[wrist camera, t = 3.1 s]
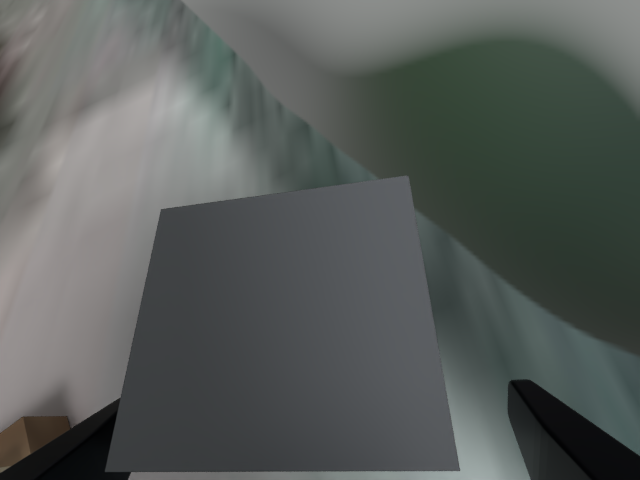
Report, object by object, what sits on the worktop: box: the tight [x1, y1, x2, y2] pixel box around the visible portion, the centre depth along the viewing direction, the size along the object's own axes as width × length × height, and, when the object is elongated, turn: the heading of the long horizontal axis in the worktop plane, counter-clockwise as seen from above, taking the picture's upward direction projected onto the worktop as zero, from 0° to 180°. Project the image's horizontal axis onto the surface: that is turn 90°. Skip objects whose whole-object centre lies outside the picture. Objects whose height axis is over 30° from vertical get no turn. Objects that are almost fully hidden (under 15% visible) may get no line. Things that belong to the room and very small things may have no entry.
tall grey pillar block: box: [105, 176, 460, 472], centre depth 12 cm, size 5×6×12 cm
